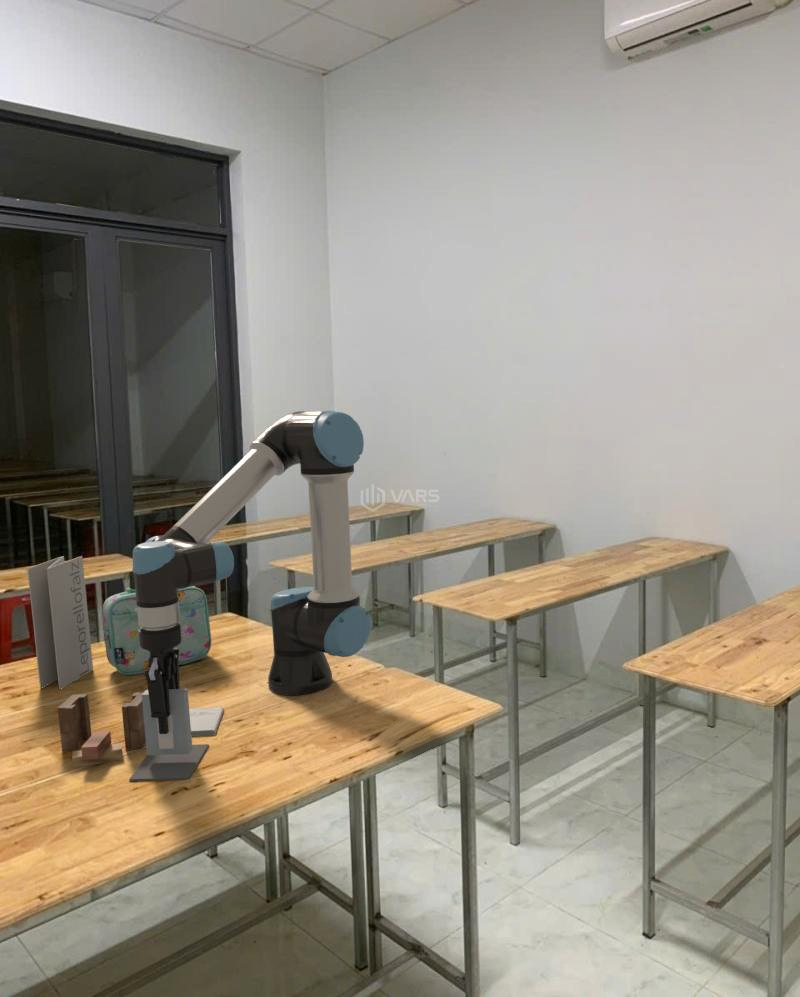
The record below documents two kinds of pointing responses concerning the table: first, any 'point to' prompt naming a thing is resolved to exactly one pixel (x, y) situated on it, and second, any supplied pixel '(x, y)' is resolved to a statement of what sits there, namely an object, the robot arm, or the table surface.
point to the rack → (78, 725)
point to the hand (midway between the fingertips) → (169, 744)
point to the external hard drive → (205, 720)
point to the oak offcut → (109, 755)
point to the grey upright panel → (180, 724)
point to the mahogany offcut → (96, 745)
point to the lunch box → (125, 627)
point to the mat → (169, 765)
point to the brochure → (60, 620)
